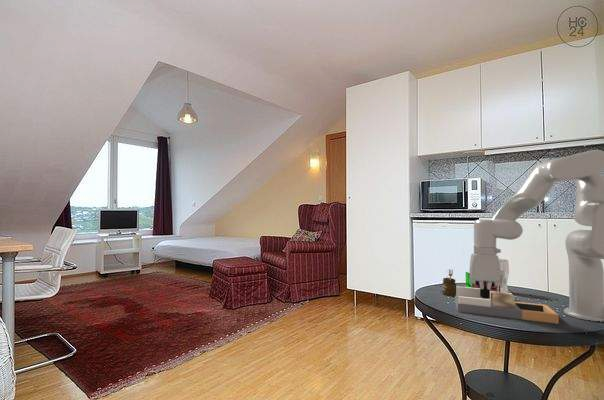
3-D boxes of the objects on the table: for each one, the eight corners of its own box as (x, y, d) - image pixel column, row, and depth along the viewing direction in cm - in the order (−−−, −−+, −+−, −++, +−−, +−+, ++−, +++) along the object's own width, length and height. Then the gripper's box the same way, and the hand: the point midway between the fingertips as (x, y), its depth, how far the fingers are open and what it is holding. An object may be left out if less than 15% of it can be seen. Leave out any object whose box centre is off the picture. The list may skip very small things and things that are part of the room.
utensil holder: (454, 293, 145) (454, 267, 145) (458, 296, 139) (458, 269, 139) (440, 292, 146) (440, 266, 147) (444, 295, 140) (443, 269, 140)
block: (511, 303, 119) (511, 292, 119) (515, 307, 114) (514, 296, 114) (490, 301, 122) (489, 290, 122) (492, 305, 116) (492, 294, 117)
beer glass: (492, 288, 154) (492, 258, 154) (509, 291, 149) (509, 259, 150) (491, 291, 148) (491, 260, 148) (508, 294, 144) (508, 261, 144)
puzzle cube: (498, 300, 134) (497, 277, 134) (472, 299, 136) (472, 276, 136) (489, 294, 143) (488, 272, 144) (465, 293, 145) (465, 271, 146)
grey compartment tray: (546, 312, 118) (545, 294, 118) (558, 323, 106) (558, 303, 107) (455, 302, 130) (455, 285, 130) (457, 311, 118) (457, 293, 118)
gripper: (505, 251, 121) (505, 299, 121) (462, 249, 127) (462, 294, 127) (509, 254, 115) (509, 304, 114) (464, 251, 120) (464, 299, 120)
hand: (484, 299), depth 120 cm, fingers closed
